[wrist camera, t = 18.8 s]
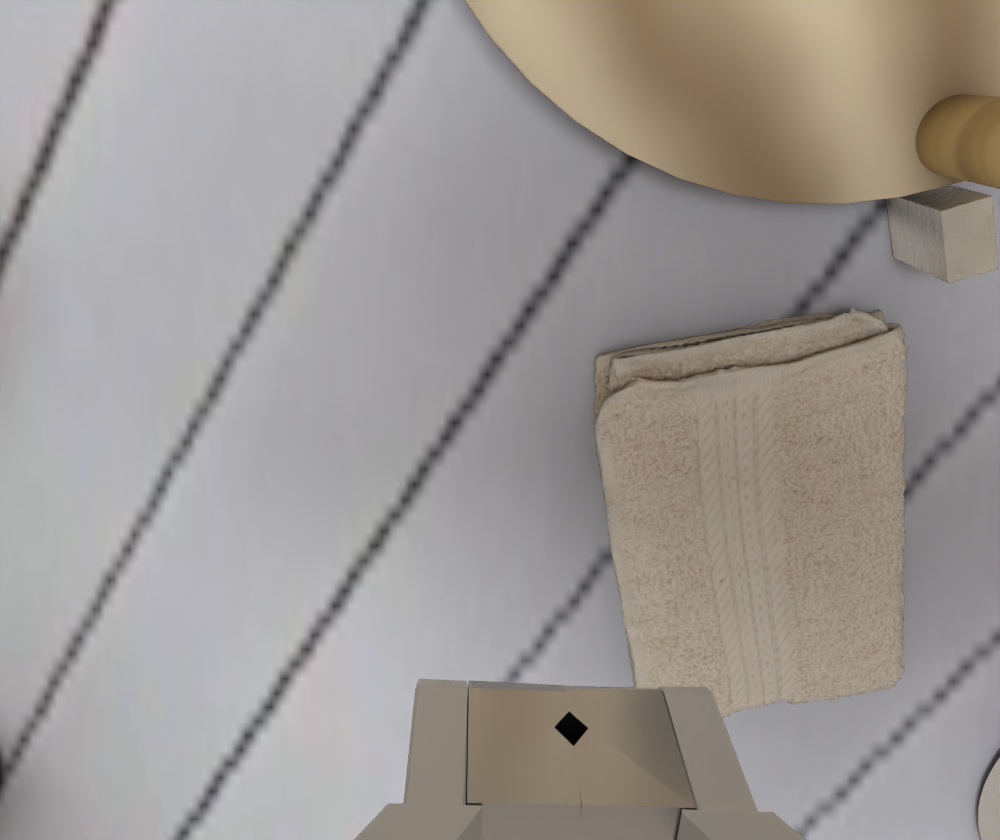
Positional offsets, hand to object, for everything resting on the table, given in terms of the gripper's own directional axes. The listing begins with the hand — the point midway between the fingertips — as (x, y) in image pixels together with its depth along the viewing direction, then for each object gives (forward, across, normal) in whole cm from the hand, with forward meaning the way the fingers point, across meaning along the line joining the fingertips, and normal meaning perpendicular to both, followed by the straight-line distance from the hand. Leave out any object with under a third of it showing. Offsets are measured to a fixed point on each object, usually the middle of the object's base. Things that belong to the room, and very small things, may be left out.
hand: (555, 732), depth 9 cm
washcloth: (+25, -11, +11) cm, 29 cm away
